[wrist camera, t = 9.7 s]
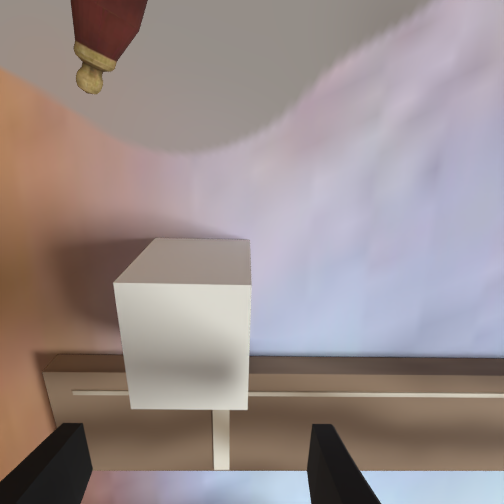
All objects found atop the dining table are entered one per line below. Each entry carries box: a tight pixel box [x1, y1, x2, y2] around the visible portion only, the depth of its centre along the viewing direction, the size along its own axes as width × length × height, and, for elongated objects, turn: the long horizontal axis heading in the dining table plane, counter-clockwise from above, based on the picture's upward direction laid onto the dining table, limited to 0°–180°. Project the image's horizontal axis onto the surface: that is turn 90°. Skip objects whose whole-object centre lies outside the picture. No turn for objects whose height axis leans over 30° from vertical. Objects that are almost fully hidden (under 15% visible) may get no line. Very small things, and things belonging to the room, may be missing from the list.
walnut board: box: [42, 354, 504, 471], centre depth 19 cm, size 8×30×2 cm, turn 89°
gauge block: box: [113, 238, 251, 410], centre depth 15 cm, size 6×5×6 cm
